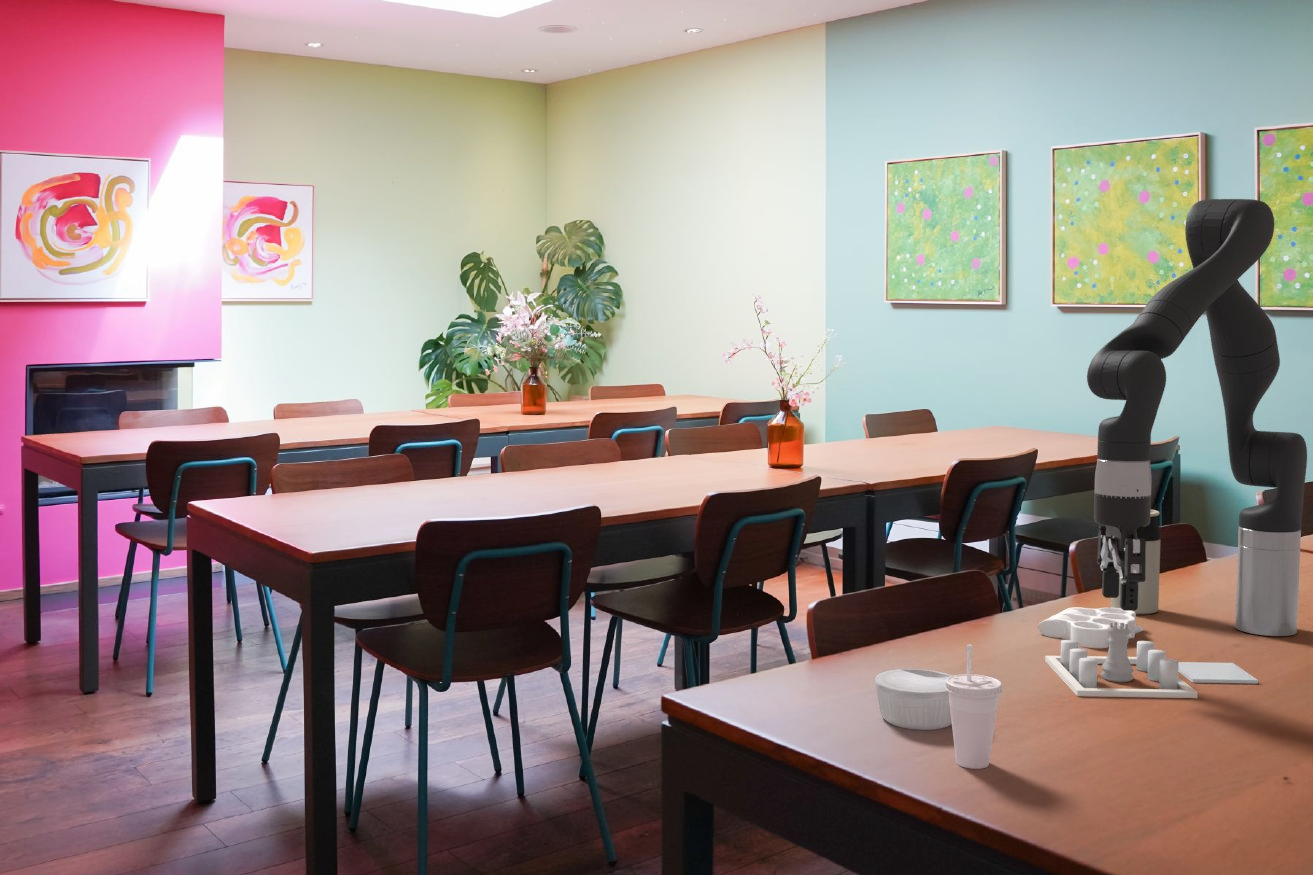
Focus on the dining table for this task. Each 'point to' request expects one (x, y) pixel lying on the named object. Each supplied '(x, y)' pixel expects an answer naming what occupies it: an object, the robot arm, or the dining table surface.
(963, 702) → the smoothie
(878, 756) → the dining table surface
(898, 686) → the ramekin
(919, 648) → the dining table surface
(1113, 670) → the rook chess piece
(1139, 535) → the travel mug
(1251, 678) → the tile
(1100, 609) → the white holed part
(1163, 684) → the frame
